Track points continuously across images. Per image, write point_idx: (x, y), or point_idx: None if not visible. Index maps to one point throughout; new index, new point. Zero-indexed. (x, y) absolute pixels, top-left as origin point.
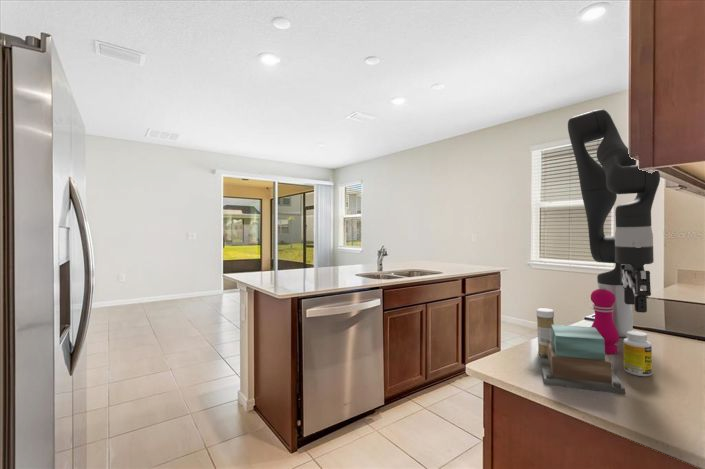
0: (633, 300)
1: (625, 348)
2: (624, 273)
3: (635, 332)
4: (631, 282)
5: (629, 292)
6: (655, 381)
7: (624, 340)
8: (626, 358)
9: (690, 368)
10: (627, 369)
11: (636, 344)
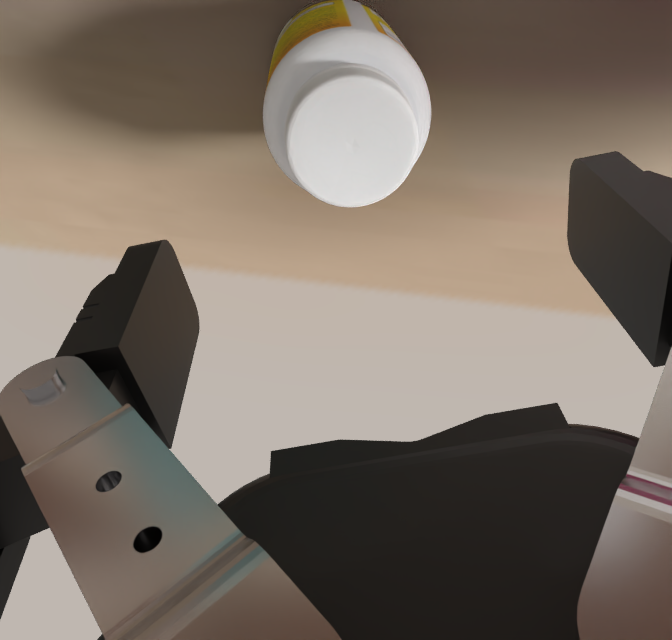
0: (591, 262)
1: (303, 32)
2: (584, 612)
3: (368, 137)
4: (50, 528)
5: (650, 284)
6: (250, 138)
7: (326, 38)
8: (297, 24)
9: (503, 281)
10: (292, 17)
11: (266, 116)
